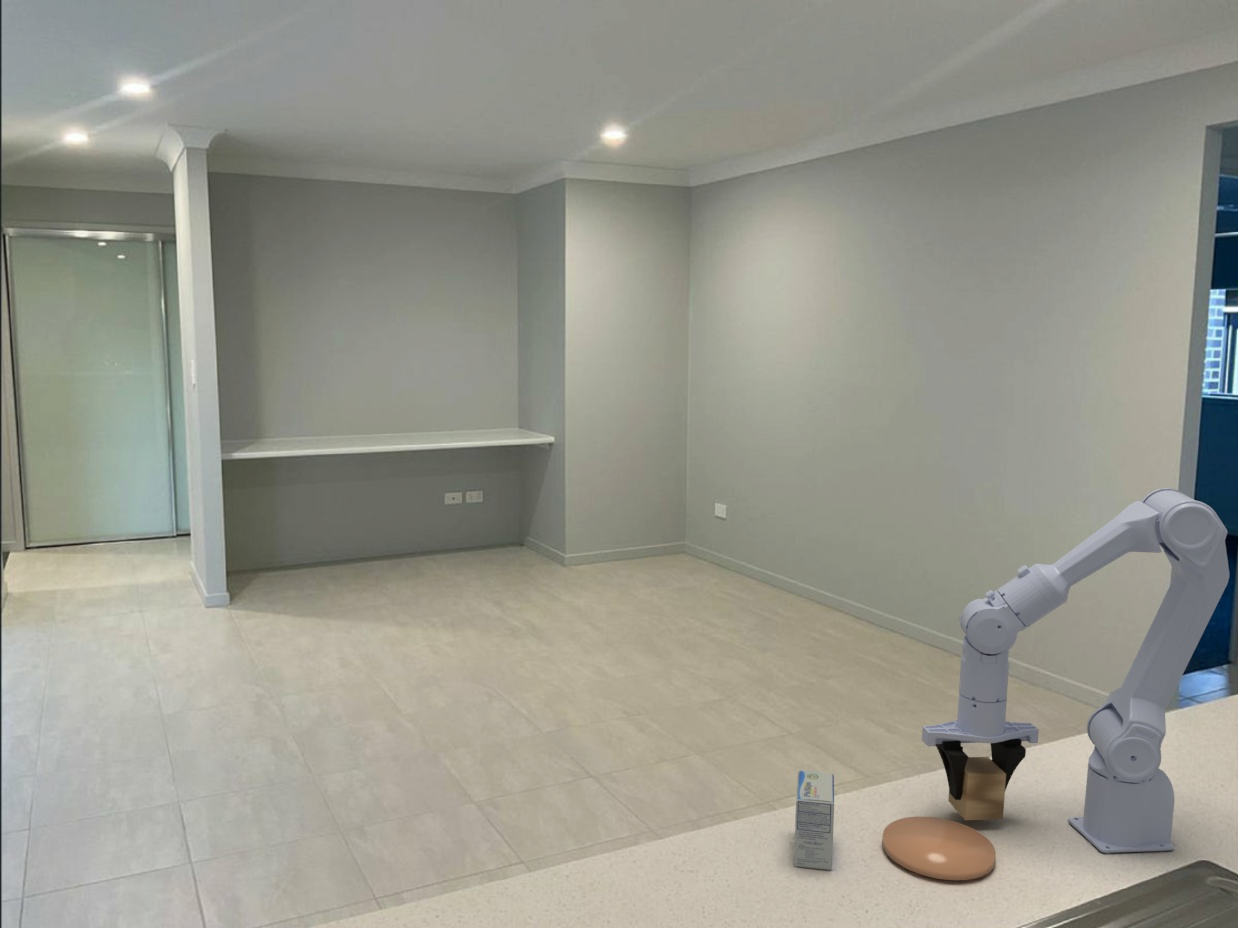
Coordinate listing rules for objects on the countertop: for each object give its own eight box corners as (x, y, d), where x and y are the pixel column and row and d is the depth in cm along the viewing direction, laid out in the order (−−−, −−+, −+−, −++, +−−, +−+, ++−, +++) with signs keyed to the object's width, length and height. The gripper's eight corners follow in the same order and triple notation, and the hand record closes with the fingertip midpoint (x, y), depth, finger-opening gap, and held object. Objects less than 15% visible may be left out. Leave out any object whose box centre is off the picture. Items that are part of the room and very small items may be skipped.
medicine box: (831, 872, 116) (835, 802, 115) (793, 867, 117) (796, 798, 116) (831, 837, 124) (834, 772, 122) (795, 833, 125) (797, 768, 123)
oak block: (985, 799, 131) (987, 756, 130) (1002, 818, 126) (1006, 773, 125) (948, 800, 130) (951, 757, 130) (964, 819, 125) (967, 775, 125)
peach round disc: (965, 824, 127) (966, 814, 127) (1015, 881, 114) (1016, 870, 114) (867, 828, 126) (867, 817, 126) (905, 886, 113) (906, 874, 113)
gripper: (1022, 681, 131) (1015, 779, 132) (915, 684, 129) (909, 782, 131) (1050, 701, 124) (1042, 804, 126) (937, 705, 122) (931, 808, 124)
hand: (976, 795), depth 128 cm, fingers closed on oak block, 5 cm apart
